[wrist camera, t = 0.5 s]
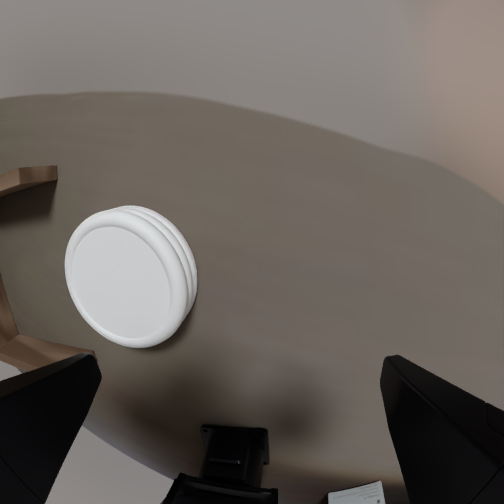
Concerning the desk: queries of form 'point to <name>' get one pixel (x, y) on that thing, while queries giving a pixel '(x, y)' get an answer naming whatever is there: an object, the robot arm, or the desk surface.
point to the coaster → (131, 275)
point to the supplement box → (359, 495)
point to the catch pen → (3, 326)
